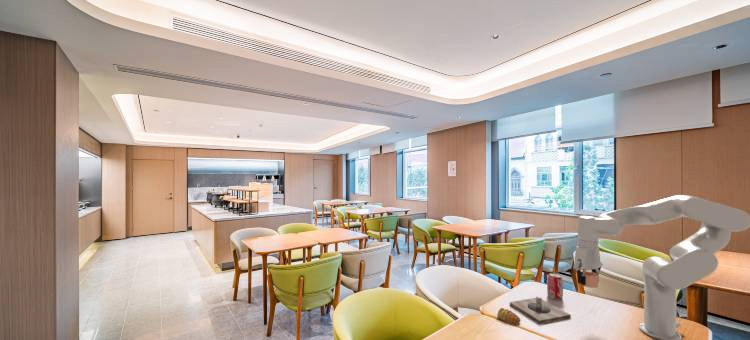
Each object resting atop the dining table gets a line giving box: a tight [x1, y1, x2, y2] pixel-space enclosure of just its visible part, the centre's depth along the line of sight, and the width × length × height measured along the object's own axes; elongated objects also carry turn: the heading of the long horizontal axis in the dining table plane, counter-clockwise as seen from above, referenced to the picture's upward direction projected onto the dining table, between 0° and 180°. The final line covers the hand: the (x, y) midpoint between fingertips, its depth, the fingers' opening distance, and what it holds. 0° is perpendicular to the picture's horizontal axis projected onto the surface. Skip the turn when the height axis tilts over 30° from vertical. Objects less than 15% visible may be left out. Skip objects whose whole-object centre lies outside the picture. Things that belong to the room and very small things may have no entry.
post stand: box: [509, 296, 572, 325], centre depth 139 cm, size 18×18×6 cm
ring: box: [578, 270, 599, 289], centre depth 130 cm, size 7×7×5 cm
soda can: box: [546, 272, 564, 300], centre depth 153 cm, size 7×7×12 cm
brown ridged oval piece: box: [497, 307, 521, 325], centre depth 131 cm, size 9×7×4 cm
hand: (588, 282), depth 130 cm, fingers closed on ring, 7 cm apart
